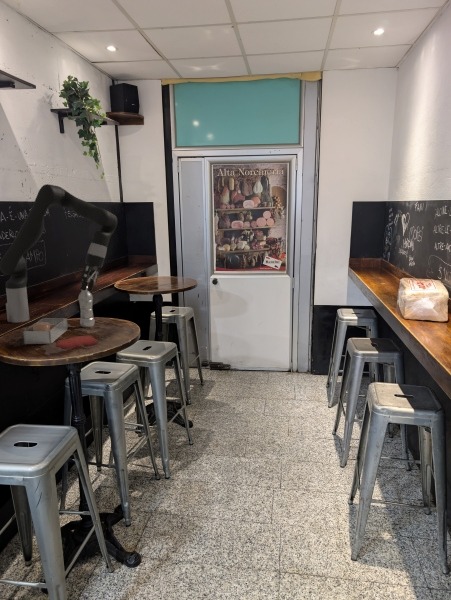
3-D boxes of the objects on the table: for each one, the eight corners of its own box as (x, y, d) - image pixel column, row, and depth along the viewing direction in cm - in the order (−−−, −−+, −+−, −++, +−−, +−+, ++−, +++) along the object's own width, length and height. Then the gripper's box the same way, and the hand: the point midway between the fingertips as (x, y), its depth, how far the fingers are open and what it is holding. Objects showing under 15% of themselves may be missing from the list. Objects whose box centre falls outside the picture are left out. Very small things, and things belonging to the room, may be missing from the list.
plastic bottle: (90, 329, 200) (88, 287, 195) (77, 328, 201) (74, 287, 197) (97, 325, 206) (95, 285, 202) (84, 325, 207) (82, 284, 203)
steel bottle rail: (24, 345, 176) (22, 331, 175) (44, 330, 197) (42, 318, 196) (51, 345, 176) (49, 331, 175) (67, 330, 197) (66, 318, 196)
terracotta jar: (31, 342, 178) (30, 326, 176) (37, 337, 184) (36, 322, 183) (47, 342, 178) (46, 326, 177) (53, 337, 185) (51, 322, 183)
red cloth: (61, 353, 168) (61, 348, 167) (49, 344, 178) (49, 340, 178) (103, 344, 179) (102, 339, 178) (89, 337, 189) (89, 332, 189)
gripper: (93, 255, 193) (83, 289, 192) (82, 250, 178) (72, 287, 178) (108, 259, 193) (99, 293, 192) (99, 255, 178) (89, 292, 178)
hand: (86, 290), depth 185 cm, fingers open, 8 cm apart
